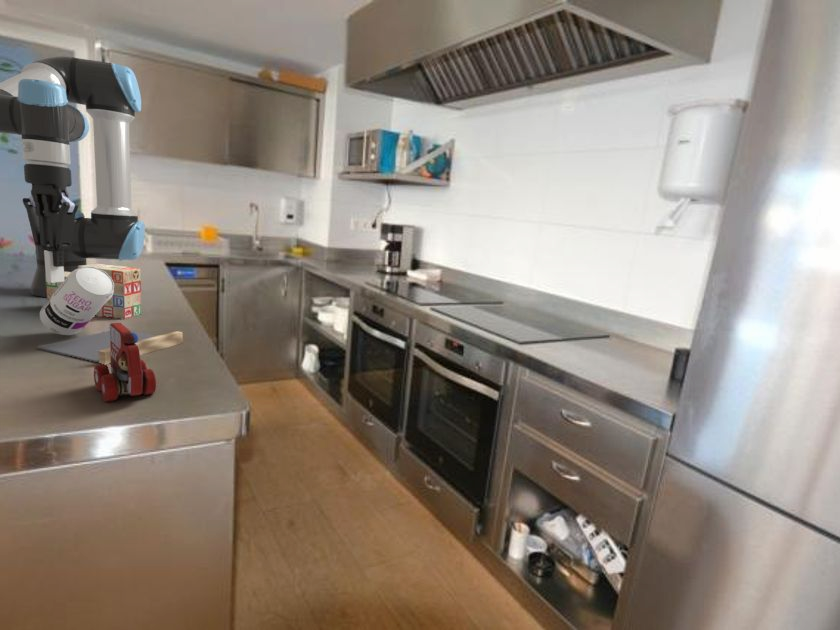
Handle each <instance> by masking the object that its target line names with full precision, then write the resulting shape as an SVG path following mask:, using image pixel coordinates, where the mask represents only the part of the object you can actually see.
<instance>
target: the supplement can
mask: <svg viewBox="0 0 840 630" xmlns="http://www.w3.org/2000/svg"><path fill="white" fill-rule="evenodd" d="M113 292H114V282H113V280H112V278H111V277H110V276H109V275H108V274H107V273H106V272H104V271H103V270H101V269H99V268H96V267H91V266H86V267H81V268H79V269H75V270H74V271H72V272H71V273H70V274H69V275H68V277H67V278H66V279H65V280H64V282H63V283H62V284H61V285H60V286H59V288H58V289H57V290H56V291H55V293H54V294H53V295H52V296H51V297H50V299H49V300H48V299H47V301H46V303H45V304H43V306H42V307H41V309H40V311H39V319H40V321H41V323H42V325H43V326H45V327H46V329H48V330H50V331H51V332H53V333H55V334H59V335H62V336H73V335H75V334H79V333H80V332H81V331H83V329H84V328H85V327H86V326H87V325H88V324H89V322H91V320H93V318H94V317H96V316H95V315H96V314H97V313H98V311H99V310H100V309H101V308H102V307H103V306H104V305H105V304H106V303H107V301H108V300H109V299H110V298H111V297H112V295H113Z"/></svg>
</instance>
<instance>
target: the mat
mask: <svg viewBox="0 0 840 630" xmlns="http://www.w3.org/2000/svg"><path fill="white" fill-rule="evenodd" d="M129 330H130V329H129ZM130 331H131V332H132V333H135V334H136V335H137V336H138V341H140V340H144V339H148V338H152V337H156V336H157V335H155V334H149V333H145V332H139V331H135V330H130ZM36 348H37V349H38V350H42V351H46V352H50V353H54V354H58V355H63V356H66V355H67V357H70V356H72V357H71V358H74V357H77V358H76V359H79V358H81V359H80V360H83V359H85V360H84V361H87V360H89V361H88V362H91V361H94V362H93V363H95V362H99V355H98V351H100V350H104V349H108V348H111V347H110V330H108V331H104V332H103V331H102V332H99V333H93V334H88V335H85V336H84V335H83V336H79V337H75V338H70V339H66V340H62V341H56V342H53V343H52V342H51V343H47V344H42V345H38V346H36Z"/></svg>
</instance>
